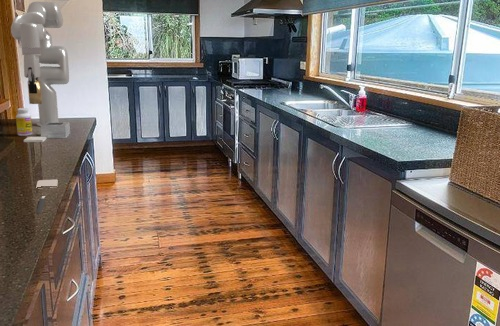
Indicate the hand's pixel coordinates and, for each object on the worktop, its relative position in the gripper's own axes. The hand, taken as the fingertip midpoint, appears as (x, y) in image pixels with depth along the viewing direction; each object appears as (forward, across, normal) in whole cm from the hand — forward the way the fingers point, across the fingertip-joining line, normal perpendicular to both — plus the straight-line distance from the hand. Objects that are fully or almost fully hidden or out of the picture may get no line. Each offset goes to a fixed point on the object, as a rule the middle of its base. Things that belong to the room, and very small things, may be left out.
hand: (34, 92), depth 208 cm
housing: (+22, -9, +6) cm, 24 cm away
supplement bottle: (+22, -13, -9) cm, 27 cm away
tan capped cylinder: (+5, 0, 0) cm, 5 cm away
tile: (+22, +1, -1) cm, 22 cm away
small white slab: (+24, +87, +20) cm, 92 cm away
